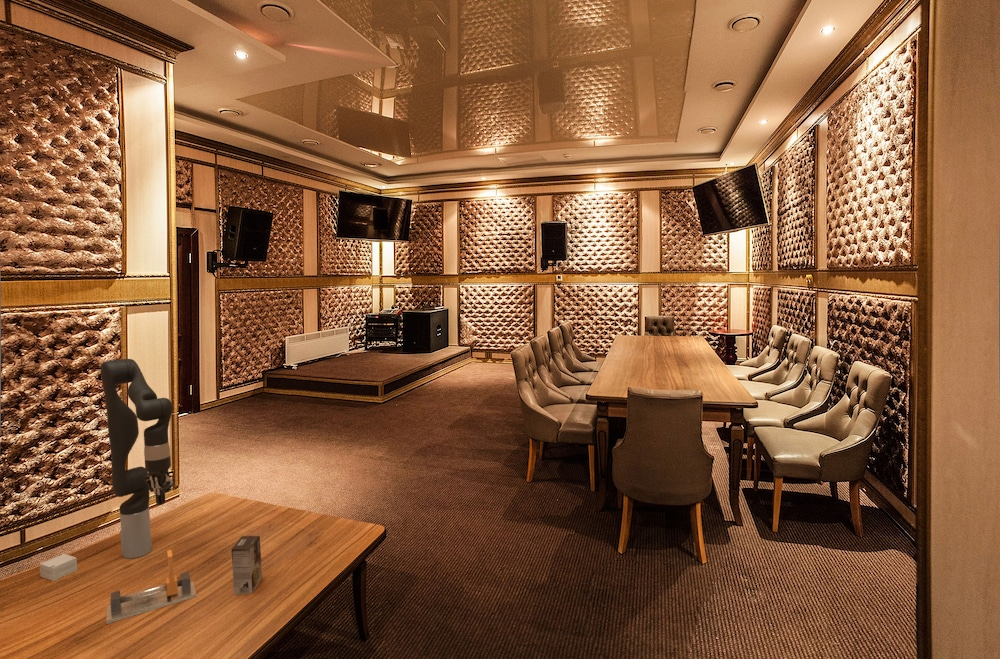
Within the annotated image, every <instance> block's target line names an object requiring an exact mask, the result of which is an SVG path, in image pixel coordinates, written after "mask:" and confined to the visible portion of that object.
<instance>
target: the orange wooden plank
mask: <svg viewBox="0 0 1000 659" xmlns="http://www.w3.org/2000/svg"><path fill="white" fill-rule="evenodd" d="M166 553H167V568H168V569H167V570H168V576H167V577H165V584H166V585H167V596H170V595H173V594H177V593H178V584H177V581H178V578H177V574H175V575H174V573H175V572H174V561H173V560H174V559H173V551H172V549H168V550H167V552H166Z"/></svg>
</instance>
